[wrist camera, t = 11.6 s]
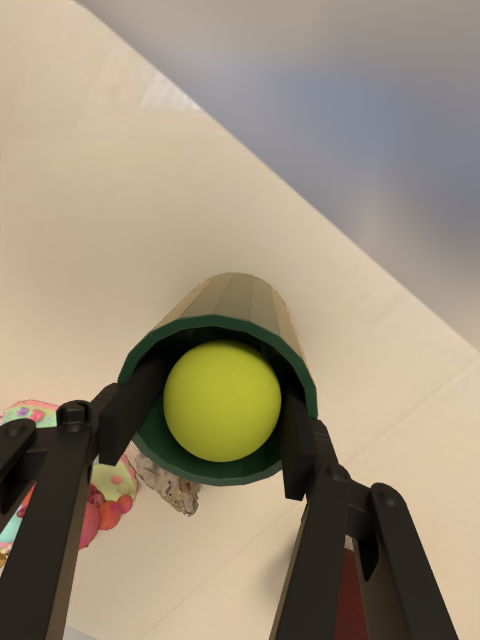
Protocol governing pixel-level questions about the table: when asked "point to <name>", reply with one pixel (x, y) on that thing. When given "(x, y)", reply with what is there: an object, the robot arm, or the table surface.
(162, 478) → the rock
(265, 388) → the ball
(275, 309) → the tube
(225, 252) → the table surface
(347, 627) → the dark brown round lump
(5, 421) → the candy landscape model
